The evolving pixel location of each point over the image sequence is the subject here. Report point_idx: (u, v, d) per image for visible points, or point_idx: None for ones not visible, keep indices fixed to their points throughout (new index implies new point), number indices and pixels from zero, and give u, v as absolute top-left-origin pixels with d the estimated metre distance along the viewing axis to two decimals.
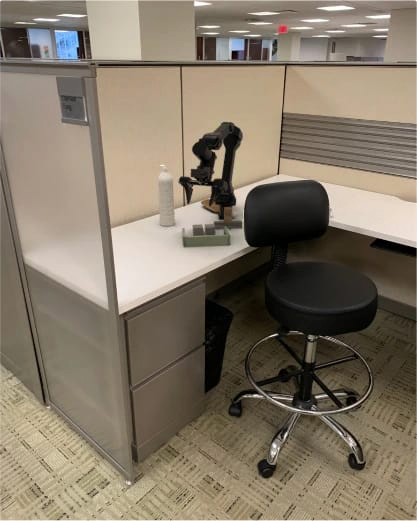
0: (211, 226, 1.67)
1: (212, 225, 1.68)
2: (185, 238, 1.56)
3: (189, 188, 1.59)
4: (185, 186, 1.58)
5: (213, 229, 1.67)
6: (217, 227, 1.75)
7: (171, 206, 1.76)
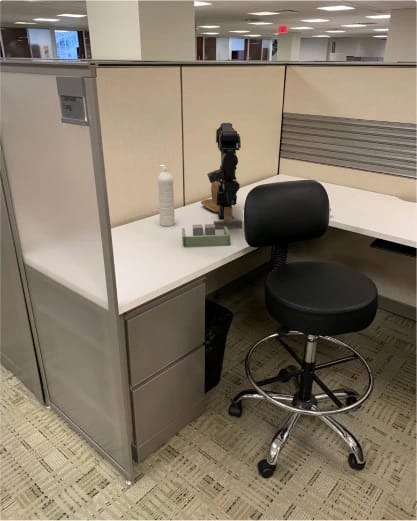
0: (211, 226, 1.67)
1: (212, 225, 1.68)
2: (185, 238, 1.56)
3: None
4: None
5: (213, 229, 1.67)
6: (217, 227, 1.75)
7: (171, 206, 1.76)
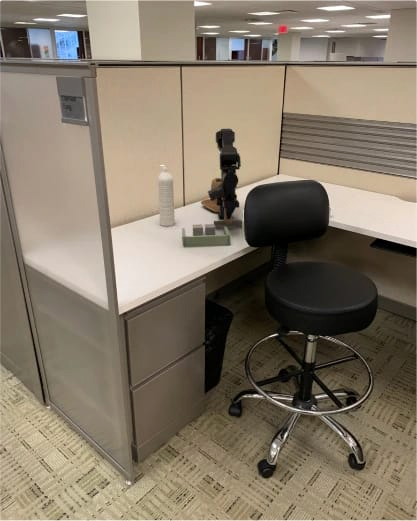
0: (211, 226, 1.67)
1: (212, 225, 1.68)
2: (185, 238, 1.56)
3: None
4: (221, 202, 1.75)
5: (213, 229, 1.67)
6: (217, 227, 1.75)
7: (171, 206, 1.76)
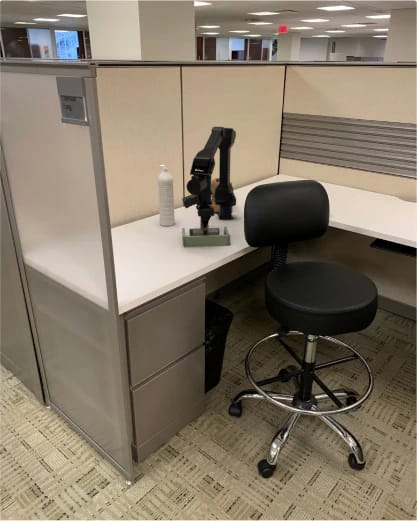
0: (214, 230, 1.62)
1: (215, 229, 1.63)
2: (185, 238, 1.56)
3: None
4: None
5: (216, 233, 1.62)
6: None
7: (171, 206, 1.76)
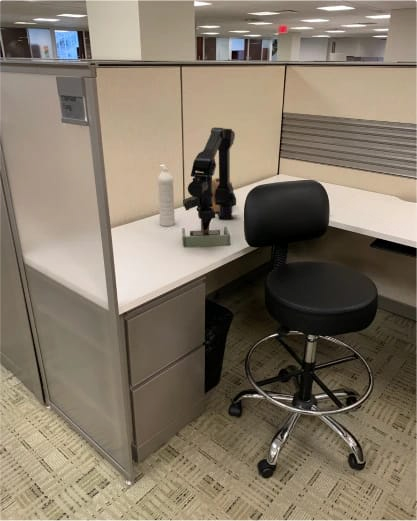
0: (215, 232, 1.60)
1: (216, 231, 1.61)
2: (185, 238, 1.56)
3: None
4: None
5: None
6: None
7: (171, 206, 1.76)
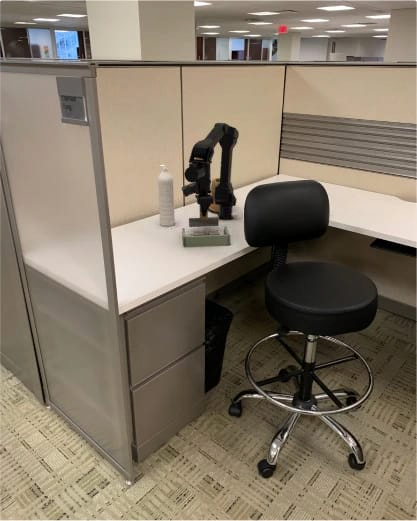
0: (215, 233, 1.60)
1: (216, 232, 1.61)
2: (185, 238, 1.56)
3: None
4: None
5: None
6: (192, 224, 1.67)
7: (171, 206, 1.76)
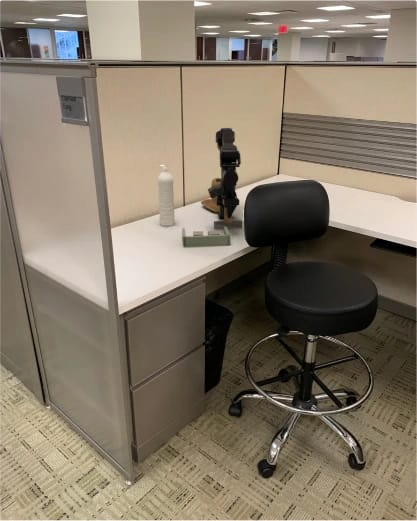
0: (215, 233, 1.60)
1: (216, 232, 1.61)
2: (185, 238, 1.56)
3: None
4: (221, 198, 1.76)
5: None
6: (217, 227, 1.75)
7: (171, 206, 1.76)
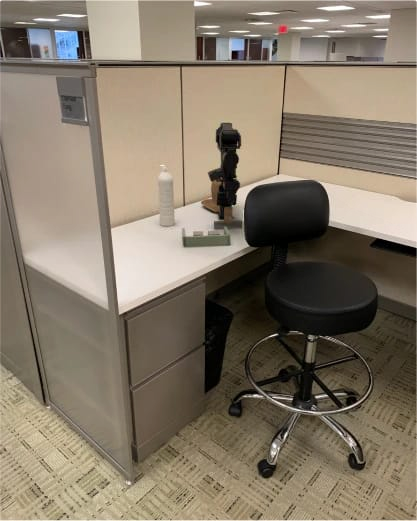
0: (215, 233, 1.60)
1: (216, 232, 1.61)
2: (185, 238, 1.56)
3: None
4: (221, 181, 1.74)
5: None
6: (217, 227, 1.75)
7: (171, 206, 1.76)
